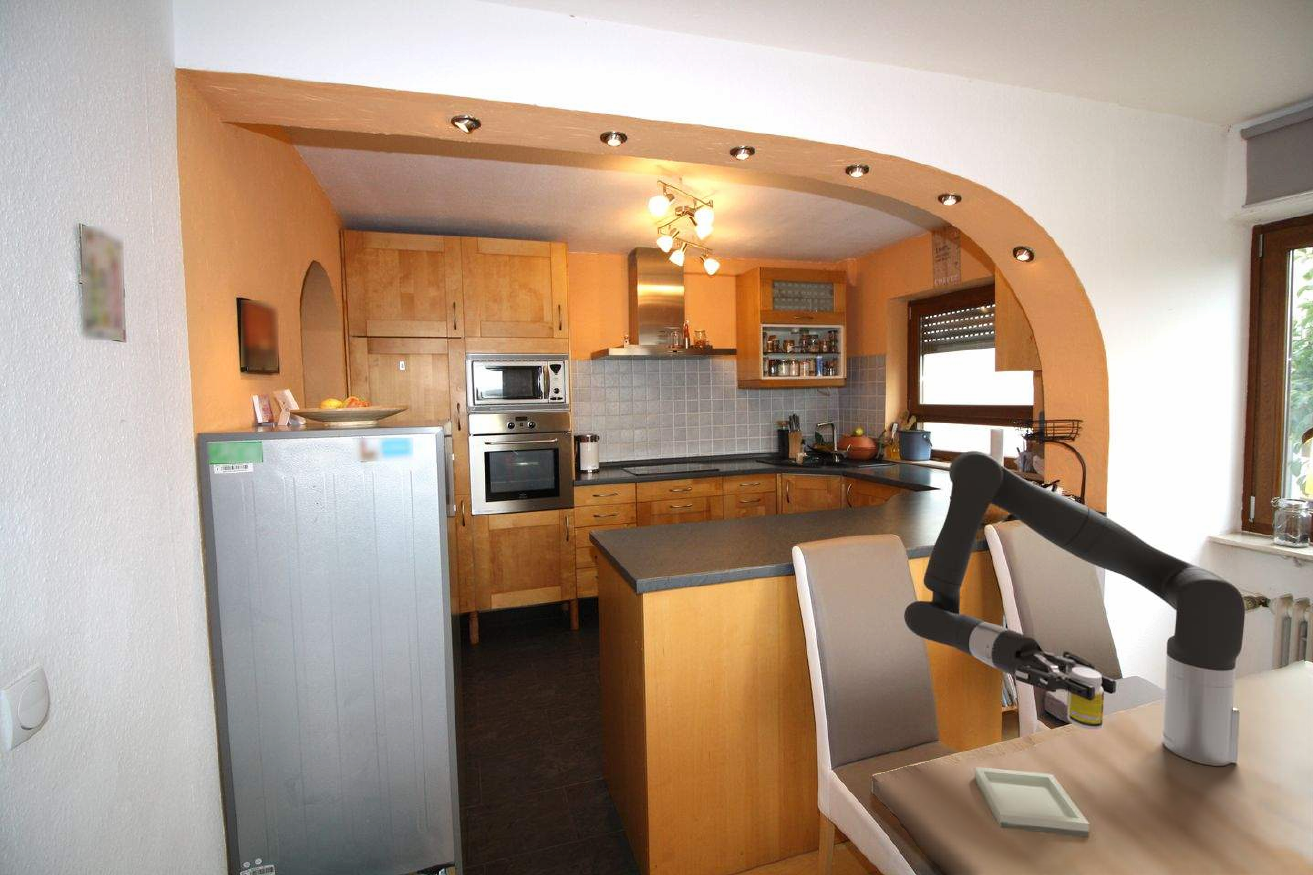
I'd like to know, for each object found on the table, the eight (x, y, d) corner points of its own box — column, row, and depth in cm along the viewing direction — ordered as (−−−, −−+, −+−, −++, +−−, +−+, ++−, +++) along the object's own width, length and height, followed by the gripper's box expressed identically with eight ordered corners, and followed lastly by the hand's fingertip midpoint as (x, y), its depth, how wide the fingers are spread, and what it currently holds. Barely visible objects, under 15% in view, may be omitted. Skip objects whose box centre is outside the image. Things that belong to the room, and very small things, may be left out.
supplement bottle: (1108, 731, 95) (1110, 680, 94) (1074, 728, 96) (1077, 677, 95) (1093, 715, 100) (1095, 666, 99) (1061, 712, 101) (1063, 664, 100)
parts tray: (1051, 785, 101) (1052, 774, 101) (1088, 836, 89) (1089, 823, 89) (974, 778, 103) (974, 766, 103) (1000, 826, 91) (1000, 814, 91)
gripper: (977, 635, 107) (1076, 676, 92) (1030, 623, 113) (1132, 659, 97) (975, 676, 108) (1074, 724, 92) (1029, 661, 114) (1130, 704, 98)
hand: (1103, 690), depth 95 cm, fingers closed on supplement bottle, 4 cm apart
